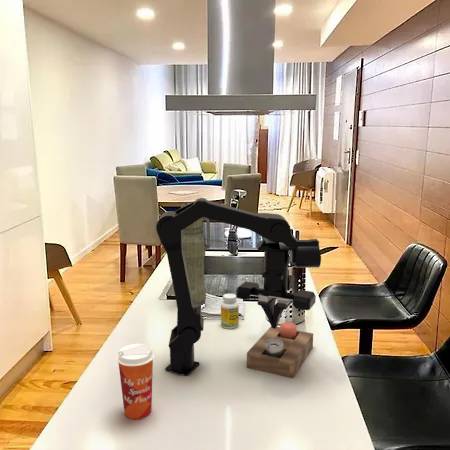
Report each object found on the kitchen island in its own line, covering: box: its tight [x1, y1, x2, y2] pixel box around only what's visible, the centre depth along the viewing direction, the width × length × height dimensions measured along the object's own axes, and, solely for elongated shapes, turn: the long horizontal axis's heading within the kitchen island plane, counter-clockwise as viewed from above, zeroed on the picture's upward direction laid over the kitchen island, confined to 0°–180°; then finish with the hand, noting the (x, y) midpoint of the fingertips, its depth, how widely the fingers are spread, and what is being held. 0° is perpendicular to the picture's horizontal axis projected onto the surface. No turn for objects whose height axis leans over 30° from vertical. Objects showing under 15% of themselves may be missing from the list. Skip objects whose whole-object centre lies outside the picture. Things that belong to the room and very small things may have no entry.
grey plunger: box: [264, 339, 284, 358], centre depth 118 cm, size 4×4×3 cm
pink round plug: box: [279, 321, 298, 340], centre depth 128 cm, size 4×4×3 cm
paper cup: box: [116, 343, 156, 420], centre depth 99 cm, size 8×8×14 cm
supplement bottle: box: [220, 293, 240, 330], centre depth 142 cm, size 5×5×10 cm
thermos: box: [180, 201, 211, 307], centre depth 155 cm, size 9×12×35 cm
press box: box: [246, 326, 314, 379], centre depth 123 cm, size 18×12×4 cm, turn 154°
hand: (274, 327), depth 117 cm, fingers closed
